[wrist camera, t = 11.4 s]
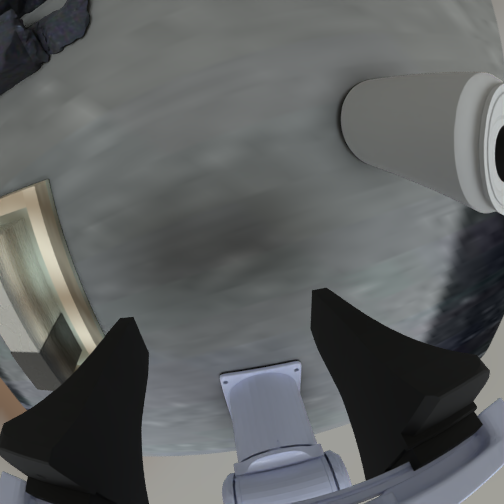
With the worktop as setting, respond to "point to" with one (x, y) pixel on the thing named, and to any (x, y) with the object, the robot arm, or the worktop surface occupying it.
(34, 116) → the worktop surface
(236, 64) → the worktop surface
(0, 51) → the dark slate chunk
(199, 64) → the worktop surface
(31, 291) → the grey rectangular block
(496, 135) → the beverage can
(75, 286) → the beige rectangular tray
